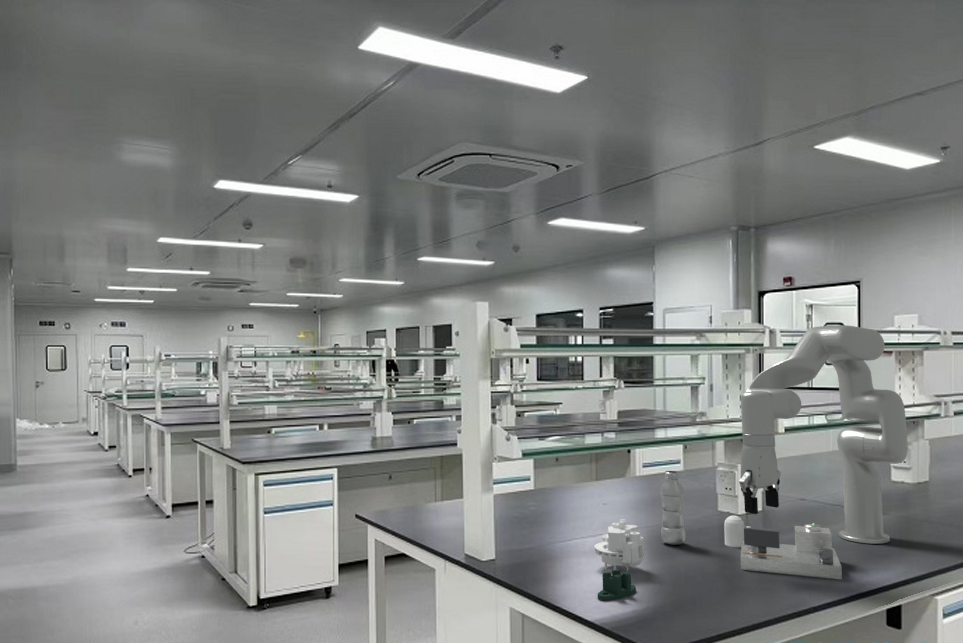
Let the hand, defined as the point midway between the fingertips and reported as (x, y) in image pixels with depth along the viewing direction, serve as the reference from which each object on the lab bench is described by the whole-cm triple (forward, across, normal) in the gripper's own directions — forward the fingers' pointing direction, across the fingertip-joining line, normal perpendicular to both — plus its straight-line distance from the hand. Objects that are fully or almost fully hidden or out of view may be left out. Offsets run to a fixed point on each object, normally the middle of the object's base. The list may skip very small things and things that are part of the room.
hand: (762, 509), depth 168 cm
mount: (+13, +44, -10) cm, 47 cm away
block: (+11, +1, 0) cm, 11 cm away
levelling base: (+14, -6, +3) cm, 16 cm away
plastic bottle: (+14, 0, -27) cm, 30 cm away
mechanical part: (+14, +29, -22) cm, 39 cm away
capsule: (+14, -12, -16) cm, 24 cm away
